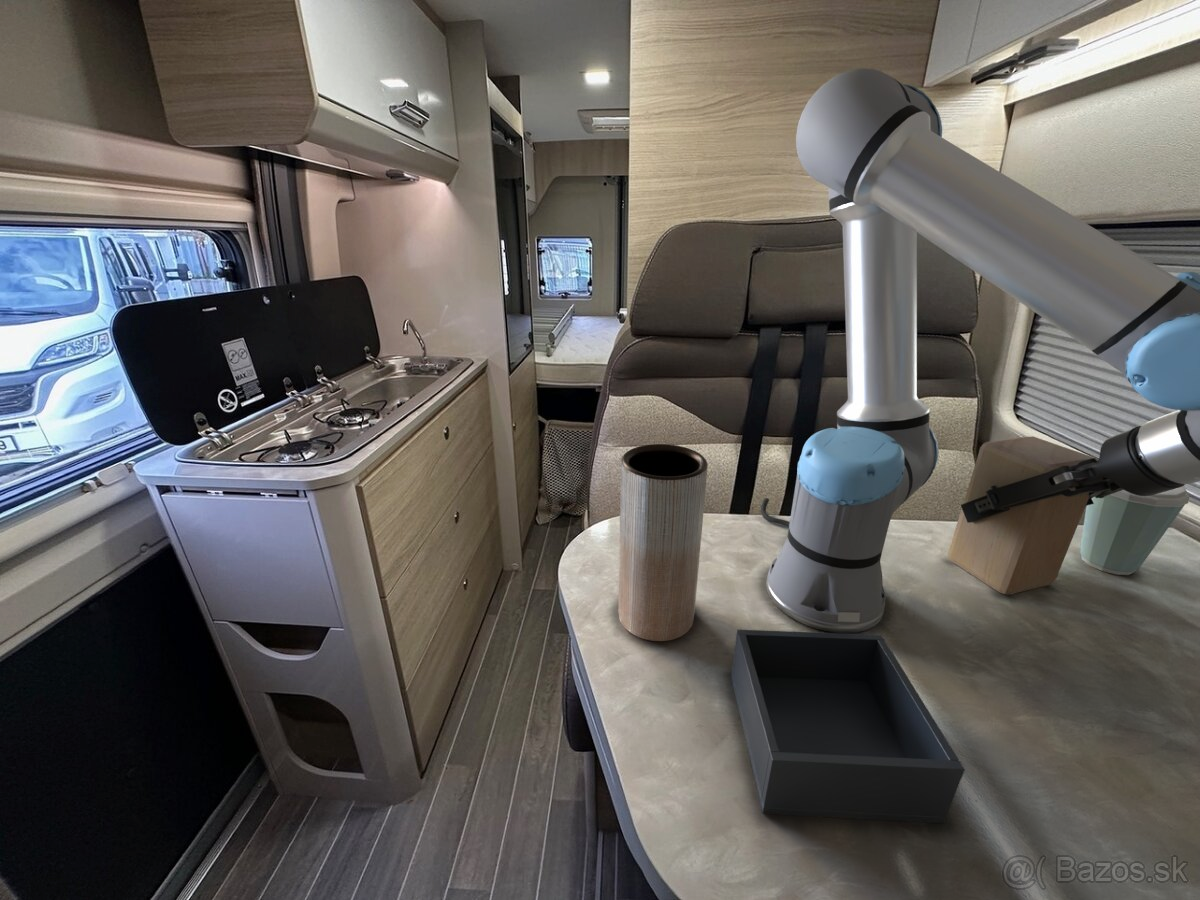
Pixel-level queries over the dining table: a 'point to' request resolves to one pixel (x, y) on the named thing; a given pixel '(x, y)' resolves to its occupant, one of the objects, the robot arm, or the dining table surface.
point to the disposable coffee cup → (1127, 528)
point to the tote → (839, 729)
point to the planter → (660, 539)
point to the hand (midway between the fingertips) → (998, 510)
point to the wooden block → (1018, 518)
